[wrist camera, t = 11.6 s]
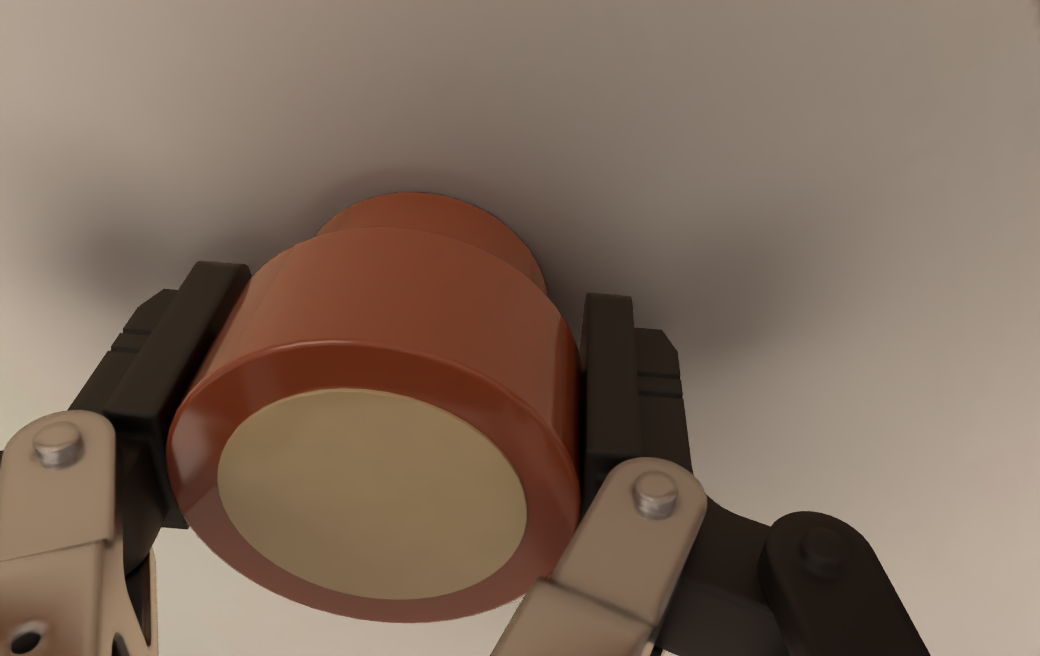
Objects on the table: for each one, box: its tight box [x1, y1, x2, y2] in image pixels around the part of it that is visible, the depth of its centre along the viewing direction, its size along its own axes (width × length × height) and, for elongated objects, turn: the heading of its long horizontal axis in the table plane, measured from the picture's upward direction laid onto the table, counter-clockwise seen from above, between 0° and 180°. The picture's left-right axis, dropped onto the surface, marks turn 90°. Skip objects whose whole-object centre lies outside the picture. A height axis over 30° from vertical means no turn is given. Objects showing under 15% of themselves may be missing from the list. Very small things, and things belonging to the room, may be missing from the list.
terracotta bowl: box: [166, 192, 583, 623], centre depth 13 cm, size 5×5×4 cm
